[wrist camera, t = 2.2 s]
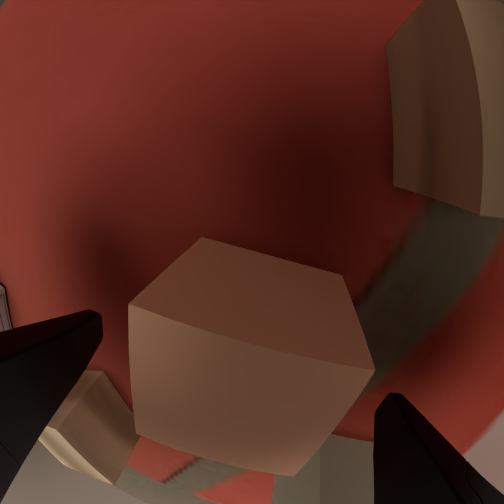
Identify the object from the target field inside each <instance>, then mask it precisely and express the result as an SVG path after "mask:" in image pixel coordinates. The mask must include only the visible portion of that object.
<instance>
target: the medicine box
mask: <svg viewBox="0 0 504 504" xmlns="http://www.w3.org/2000/svg"><path fill="white" fill-rule="evenodd" d="M9 329H12V326H11V322H10V317H9V312H8V307H7V302H6V296H5V289H4V287H3V286H2V285H0V332H1V331H5V330H9Z"/></svg>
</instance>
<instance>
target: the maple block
mask: <svg viewBox="0 0 504 504" xmlns="http://www.w3.org/2000/svg"><path fill="white" fill-rule="evenodd" d="M139 438H140V435H138V434H136V429H135V421H134V414H133V413H132V411H131V410H130V409H129V407H128V406H127V405H126V403H125V402H124V401H123V399H122V398H121V396H120V395H119V394H118V392H117V391H116V389H115V388H114V386H113V385H112V383H111V382H110V380H109V379H108V377H107V376H106V374H105V373H104V371H93V370H85V371H84V372H83V374H82V376H81V377H80V379H79V380H78V382H77V383H76V384H75V386H74V387H73V388H72V390H71V391H70V393H69V394H68V396H67V397H66V398H65V400H64V401H63V403H62V404H61V405H60V407H59V408H58V410H57V411H56V413H55V414H54V416H53V417H52V419H51V420H50V422H49V423H48V425H47V426H46V428H45V429H44V431H43V432H42V434H41V435H40V437H39V438H38V439H39V440H40V441H41V442H42V444H43V445H44V446H45V447H46V448H47V449H48V450H49V451H50V452H51V453H52V454H53V455H54V456H55V457H56V458H57V459H58V460H59V461H60V462H62V464H64V465H65V466H68V467H70V468H72V469H74V470H76V471H79V472H81V473H83V474H86V475H88V476H91V477H93V478H96V479H98V480H101V481H104V482H106V483H109V484H112V485H115V483H116V481H117V479H118V477H119V475H120V473H121V472H122V470H123V468H124V466H125V464H126V462H127V460H128V458H129V457H130V455H131V453H132V451H133V449H134V447H135V445H136V443H137V442H138V440H139Z"/></svg>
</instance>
